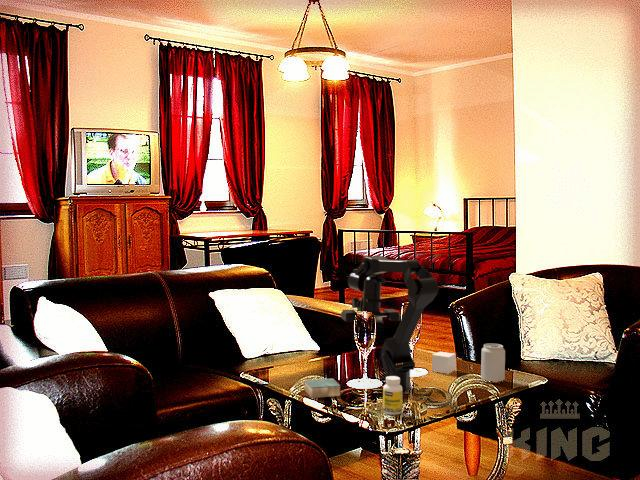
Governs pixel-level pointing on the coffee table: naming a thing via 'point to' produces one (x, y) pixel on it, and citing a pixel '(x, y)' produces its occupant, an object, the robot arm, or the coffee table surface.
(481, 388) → the coffee table surface
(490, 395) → the coffee table surface
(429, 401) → the coffee table surface
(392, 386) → the supplement bottle
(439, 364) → the white cube
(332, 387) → the tile
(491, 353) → the can
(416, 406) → the coffee table surface
